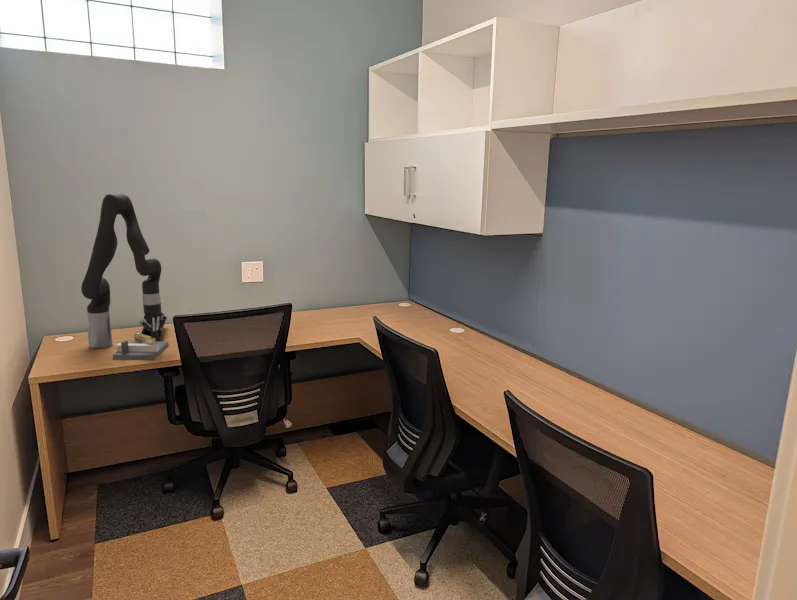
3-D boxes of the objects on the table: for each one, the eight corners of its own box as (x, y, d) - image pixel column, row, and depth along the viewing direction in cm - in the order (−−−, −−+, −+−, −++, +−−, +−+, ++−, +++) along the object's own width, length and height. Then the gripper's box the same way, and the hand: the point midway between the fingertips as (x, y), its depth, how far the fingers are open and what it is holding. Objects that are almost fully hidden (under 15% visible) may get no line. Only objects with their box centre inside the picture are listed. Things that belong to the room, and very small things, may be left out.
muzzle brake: (141, 344, 275) (140, 324, 272) (147, 328, 301) (145, 309, 298) (162, 343, 278) (161, 323, 275) (166, 327, 304) (165, 309, 301)
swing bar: (133, 339, 265) (132, 333, 264) (139, 337, 268) (139, 331, 267) (150, 344, 259) (150, 338, 258) (156, 342, 262) (156, 336, 261)
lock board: (112, 359, 254) (111, 343, 253) (130, 344, 274) (129, 330, 272) (153, 359, 256) (152, 343, 254) (168, 345, 275) (167, 330, 273)
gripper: (159, 298, 266) (162, 333, 270) (133, 303, 255) (137, 340, 259) (169, 300, 262) (172, 336, 266) (143, 306, 251) (147, 343, 256)
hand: (154, 338), depth 263 cm, fingers closed
